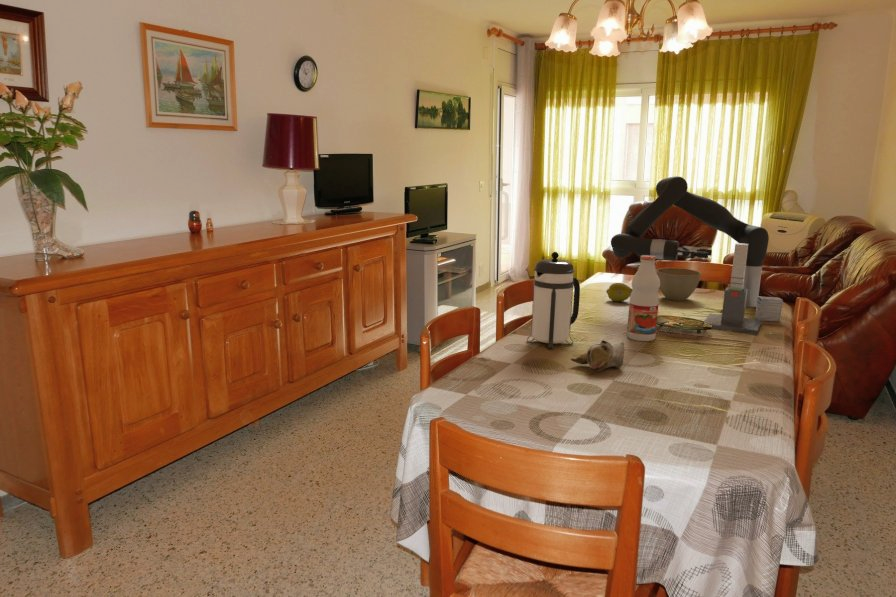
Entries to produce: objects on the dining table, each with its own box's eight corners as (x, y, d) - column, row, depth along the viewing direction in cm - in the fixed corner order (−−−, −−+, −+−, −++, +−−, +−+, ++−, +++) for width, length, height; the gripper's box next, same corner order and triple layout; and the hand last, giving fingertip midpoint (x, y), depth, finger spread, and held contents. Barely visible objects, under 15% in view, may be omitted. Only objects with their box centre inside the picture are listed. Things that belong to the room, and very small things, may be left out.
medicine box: (775, 319, 251) (778, 297, 249) (780, 322, 247) (783, 299, 245) (754, 318, 252) (757, 296, 250) (758, 321, 248) (761, 298, 246)
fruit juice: (644, 333, 226) (652, 253, 220) (661, 340, 217) (669, 258, 211) (621, 335, 223) (627, 254, 217) (636, 342, 215) (644, 258, 209)
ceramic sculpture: (635, 341, 184) (590, 349, 179) (634, 370, 186) (590, 379, 181) (612, 332, 194) (569, 339, 188) (612, 360, 196) (569, 368, 190)
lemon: (603, 301, 274) (605, 283, 272) (607, 298, 281) (609, 280, 279) (629, 304, 269) (631, 286, 268) (633, 301, 276) (635, 282, 275)
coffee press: (576, 352, 203) (582, 256, 196) (524, 347, 206) (529, 254, 199) (576, 337, 219) (582, 249, 213) (529, 333, 223) (533, 246, 216)
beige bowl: (645, 295, 289) (648, 268, 286) (680, 293, 294) (683, 267, 292) (670, 304, 272) (673, 275, 269) (707, 302, 277) (710, 274, 275)
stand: (702, 327, 237) (706, 290, 234) (709, 317, 252) (713, 282, 249) (756, 334, 228) (761, 297, 225) (760, 323, 243) (765, 288, 240)
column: (727, 303, 237) (734, 244, 233) (729, 301, 241) (736, 242, 236) (740, 305, 235) (747, 245, 231) (741, 302, 239) (748, 243, 234)
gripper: (661, 241, 240) (708, 245, 232) (669, 238, 252) (713, 241, 244) (659, 262, 242) (705, 266, 234) (667, 257, 254) (711, 261, 246)
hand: (709, 254), depth 239 cm, fingers open, 8 cm apart
